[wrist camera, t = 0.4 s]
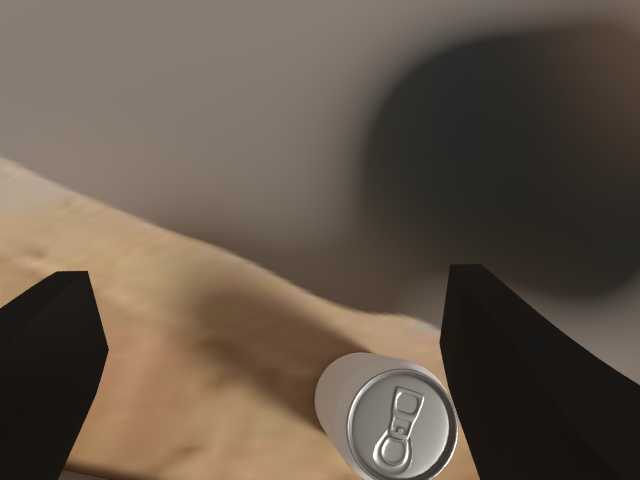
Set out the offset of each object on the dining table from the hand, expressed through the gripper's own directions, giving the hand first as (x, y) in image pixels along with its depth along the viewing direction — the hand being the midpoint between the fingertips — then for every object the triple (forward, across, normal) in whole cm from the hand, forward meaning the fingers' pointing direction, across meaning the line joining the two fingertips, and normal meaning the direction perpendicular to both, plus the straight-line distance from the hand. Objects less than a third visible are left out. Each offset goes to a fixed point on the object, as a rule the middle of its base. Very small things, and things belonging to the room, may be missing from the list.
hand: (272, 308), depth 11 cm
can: (+19, -4, +23) cm, 30 cm away
